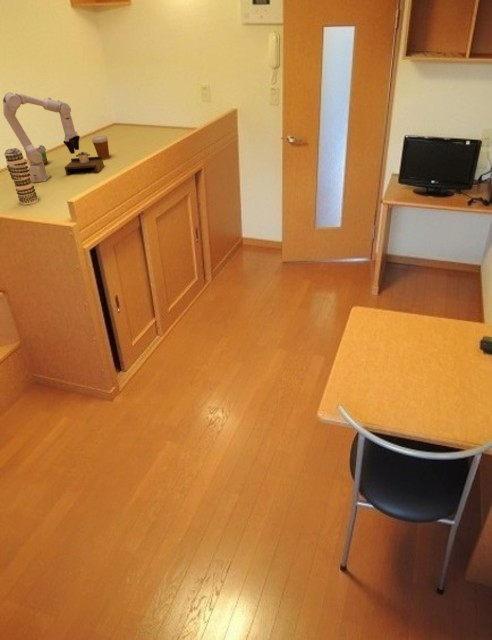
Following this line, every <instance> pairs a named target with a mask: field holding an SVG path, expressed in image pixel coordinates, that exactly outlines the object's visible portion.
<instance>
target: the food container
mask: <svg viewBox="0 0 492 640" xmlns="http://www.w3.org/2000/svg"><path fill="white" fill-rule="evenodd" d="M38 146H39V147H35V149H36V150H37V152H39V153H40V154H41V155H42V161H43V163H44V166H45V167H46V166H47V165H48V164H49V162H48V158H47V153H46V151H47V148H46V147H45V145H43V144H42V145H41V144H40V145H38Z"/></svg>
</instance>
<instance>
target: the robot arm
mask: <svg viewBox="0 0 492 640" xmlns="http://www.w3.org/2000/svg"><path fill="white" fill-rule="evenodd" d="M2 104H3V107H2V108H3V109H2V110H3V116H4V119H6V121H7V123H8V125H9V126H10V127H11V129H12V131H13V133H14V135H15V136H16V138H17V139H18V140H19V142H20V144H21V146H22V148H23V150H24V152H25V157H26V159H27V160H29V161H28V165H29V167H28V170H29V172H28V173H29V174H30V179H31V182H32V183H45V182H46V181H48V180H49V178H51V175H48V173H47V170H46V169H47V168H46V165H45V166H44V163H43V161H42V155H41V154H40V153H39V152H37V150H36V147H35V146H34V144H33V143H32V141H31V139H30V138H29V136H28V134H27V132H26V131H25V130H24V128H23V126H22V125H21V122H20V121H19V120H18V118H17V116H16V115H17V111H18V110H19V108H20V107H21V106H22V105H26V104H29V105H30V104H31V105H35V106H39V107H42V108H43V109H44V111H49V112H53V113H59V117H60V122H61V125H62V129H63V133H64V140H63V144H64V146H66V148H67V150H68V151H69V153H70V154H71V155H72V154H75V153H76V151H80V138H81V136H80V135H79V133H78V131H76V129H75V125H74V122H73V118H72V115H71V112H72V108H71V107H70V105H69V104H68V103H66V102H63V101H61V100H54V99H52V97H46V98H43V99H41V98H37V97H34V96H30V95H27V94H22V93H13V92H6V93H5V94H4V96H3V99H2Z"/></svg>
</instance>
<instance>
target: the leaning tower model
mask: <svg viewBox="0 0 492 640" xmlns="http://www.w3.org/2000/svg"><path fill="white" fill-rule="evenodd" d="M3 156H4V157H5V161H6V164H7V165H6V168H7V171H8V172H9V175H10V178H11V180H12V181H13V183H14V187H15V191H16V194H17V195H18V196H17V198H18V201H19V203H20V205H23V206H24V205H26V206H27V205H31V204H35V203H37V202H38V201H39V198H38V195H37V192H36V189H35V186H34V184H33V182H31V181H32V180H31V177H30V174H29V166H28V165H27V164H28V161H26V158H25V157H24V155H23V151H22V150H20V149H19V148H17V147H13V148H7V149H6V150H5V151H4V154H3Z"/></svg>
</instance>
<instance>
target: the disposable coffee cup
mask: <svg viewBox="0 0 492 640" xmlns="http://www.w3.org/2000/svg"><path fill="white" fill-rule="evenodd" d="M91 142H92V144H93V147H94V149H95V152H96V155H97V157H99V156H102V159H103V160H107V159H109V158H110V150H109V149H110V148H109V138H108V136H106V135H98V136H94V137H92V138H91Z"/></svg>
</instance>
